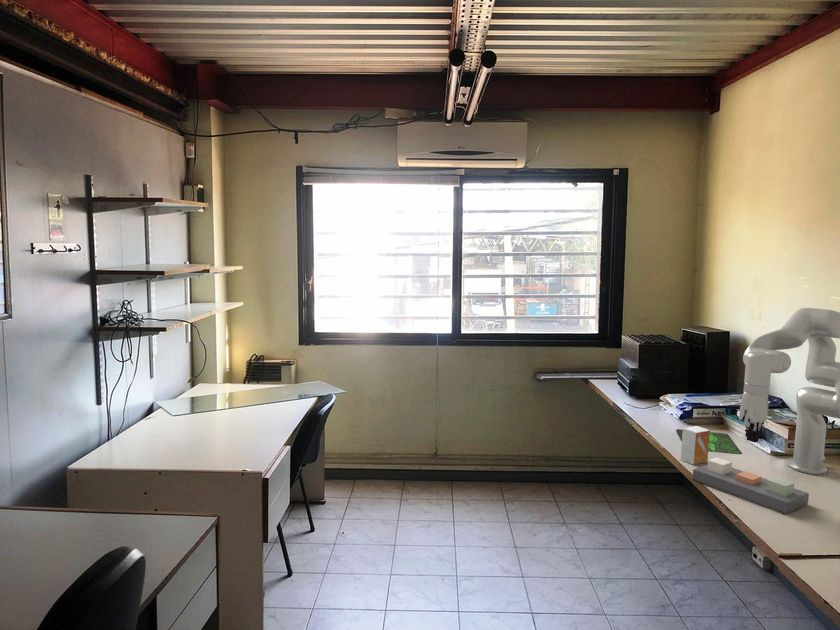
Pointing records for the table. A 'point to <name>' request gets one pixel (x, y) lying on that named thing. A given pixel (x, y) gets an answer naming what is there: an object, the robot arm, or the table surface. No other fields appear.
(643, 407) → the table surface
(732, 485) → the key console
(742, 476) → the terracotta key
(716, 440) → the mouse mat
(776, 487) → the sage key
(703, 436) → the small box
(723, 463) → the cream key
